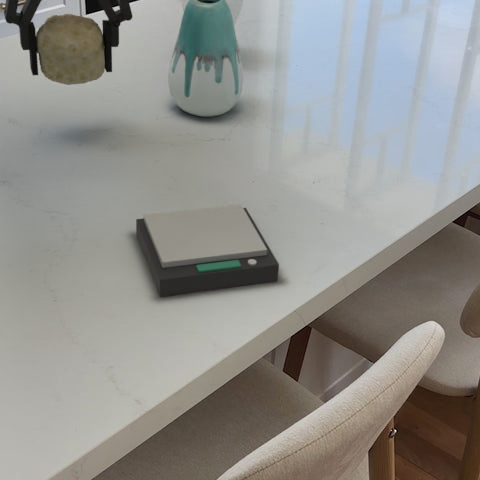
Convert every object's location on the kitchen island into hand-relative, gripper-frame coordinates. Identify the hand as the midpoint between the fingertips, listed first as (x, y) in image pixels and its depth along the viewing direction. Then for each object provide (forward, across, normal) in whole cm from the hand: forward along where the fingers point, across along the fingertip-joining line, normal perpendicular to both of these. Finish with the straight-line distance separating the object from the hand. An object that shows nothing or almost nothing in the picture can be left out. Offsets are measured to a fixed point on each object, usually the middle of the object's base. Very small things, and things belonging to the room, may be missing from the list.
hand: (71, 69), depth 124 cm
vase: (+10, +21, +6) cm, 24 cm away
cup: (+10, +27, +25) cm, 39 cm away
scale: (+10, +10, -35) cm, 38 cm away
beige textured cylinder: (0, 0, 0) cm, 0 cm away
